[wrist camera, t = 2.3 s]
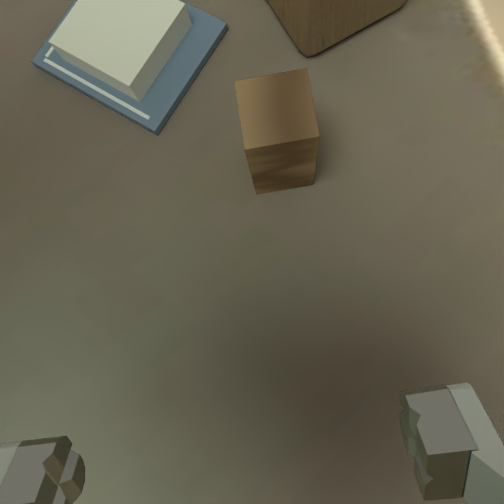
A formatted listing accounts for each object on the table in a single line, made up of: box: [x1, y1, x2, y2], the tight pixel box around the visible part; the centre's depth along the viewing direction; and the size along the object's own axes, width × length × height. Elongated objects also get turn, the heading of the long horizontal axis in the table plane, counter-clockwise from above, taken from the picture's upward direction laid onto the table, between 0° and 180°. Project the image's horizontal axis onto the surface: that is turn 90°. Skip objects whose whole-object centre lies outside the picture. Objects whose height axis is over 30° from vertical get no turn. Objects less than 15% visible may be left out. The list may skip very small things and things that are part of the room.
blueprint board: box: [31, 0, 228, 135], centre depth 39 cm, size 13×11×1 cm
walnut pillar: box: [234, 68, 320, 194], centre depth 32 cm, size 4×4×9 cm
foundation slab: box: [48, 0, 192, 102], centre depth 37 cm, size 8×8×2 cm
